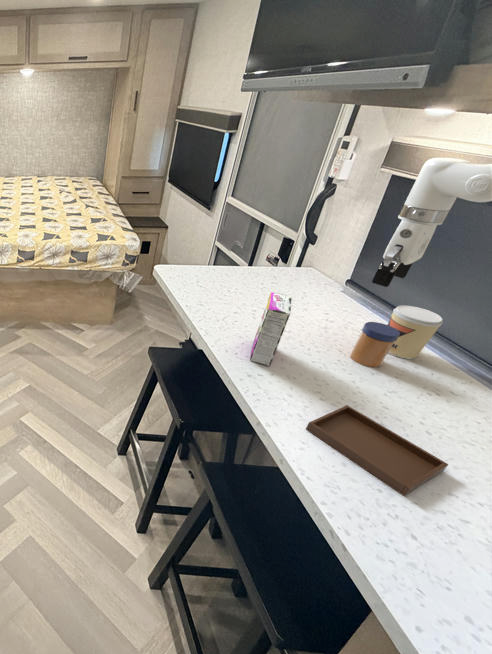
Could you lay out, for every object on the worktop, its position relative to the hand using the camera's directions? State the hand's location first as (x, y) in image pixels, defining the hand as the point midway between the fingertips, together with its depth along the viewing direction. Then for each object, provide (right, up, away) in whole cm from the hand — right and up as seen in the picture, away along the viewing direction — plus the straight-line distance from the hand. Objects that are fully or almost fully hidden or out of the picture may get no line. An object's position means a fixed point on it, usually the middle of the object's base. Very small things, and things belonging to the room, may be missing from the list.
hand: (388, 280), depth 100 cm
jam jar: (0, -21, +6) cm, 22 cm away
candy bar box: (-26, -20, +9) cm, 34 cm away
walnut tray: (-23, -35, -20) cm, 47 cm away
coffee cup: (+12, -19, +10) cm, 25 cm away
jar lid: (0, -13, +2) cm, 13 cm away
